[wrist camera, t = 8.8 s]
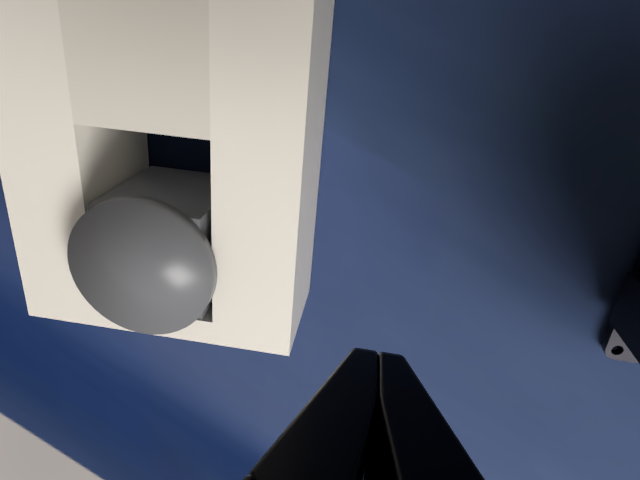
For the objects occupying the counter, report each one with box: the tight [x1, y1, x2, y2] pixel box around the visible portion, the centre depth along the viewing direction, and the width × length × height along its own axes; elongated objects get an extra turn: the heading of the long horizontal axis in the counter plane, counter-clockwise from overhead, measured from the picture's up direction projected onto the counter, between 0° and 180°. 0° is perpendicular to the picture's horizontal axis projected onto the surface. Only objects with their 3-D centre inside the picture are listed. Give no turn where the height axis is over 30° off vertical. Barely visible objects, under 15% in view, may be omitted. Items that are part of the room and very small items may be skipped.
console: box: [0, 0, 335, 356], centre depth 17 cm, size 11×21×5 cm, turn 175°
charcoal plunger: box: [67, 166, 217, 335], centre depth 19 cm, size 5×5×6 cm
